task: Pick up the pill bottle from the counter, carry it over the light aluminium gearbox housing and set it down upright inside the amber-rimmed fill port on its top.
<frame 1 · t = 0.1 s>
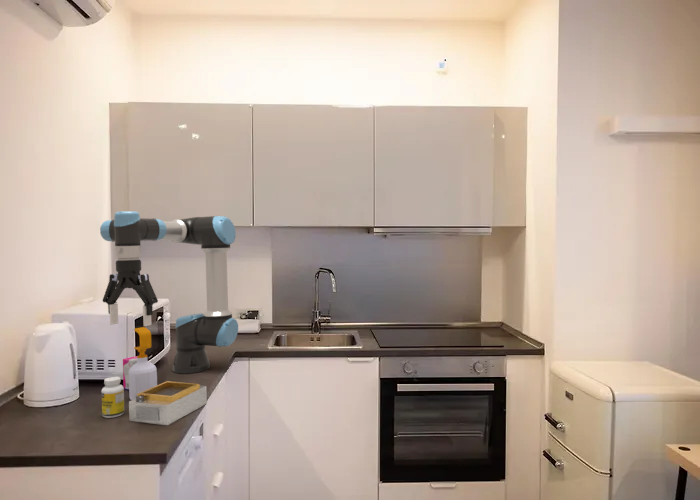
hand: (130, 324, 161), 28 cm above the countertop, fingers open, 13 cm apart
spray bottle: (143, 397, 175), on the countertop
pill bottle: (113, 415, 158), on the countertop
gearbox: (169, 411, 160), on the countertop
supplement box: (134, 388, 186), on the countertop
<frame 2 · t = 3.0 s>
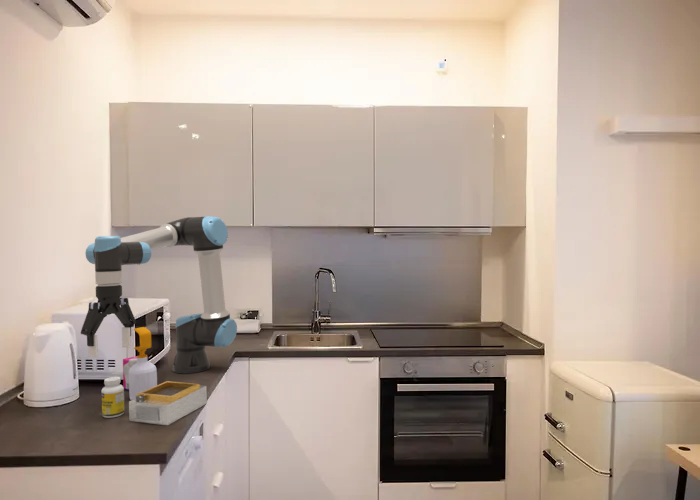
hand: (110, 351, 158), 20 cm above the countertop, fingers open, 13 cm apart
nothing on the countertop moved.
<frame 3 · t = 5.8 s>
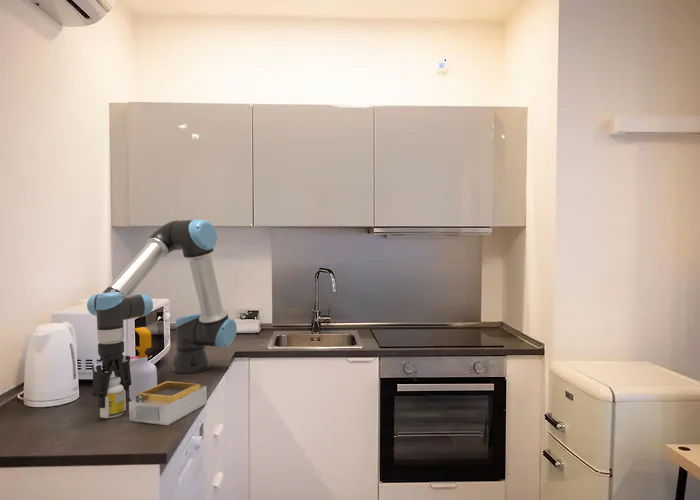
hand: (113, 413, 158), 0 cm above the countertop, fingers closed on pill bottle, 6 cm apart
pill bottle: (113, 415, 158), on the countertop, touching gripper
everything else where it was.
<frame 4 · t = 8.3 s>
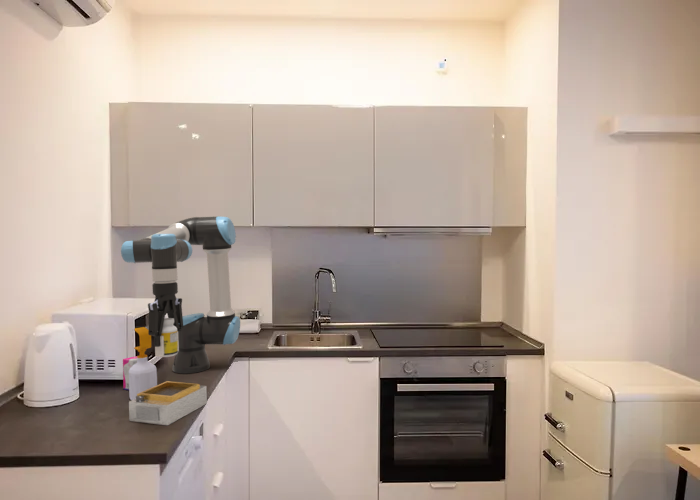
hand: (167, 353, 159), 19 cm above the countertop, fingers closed on pill bottle, 6 cm apart
pill bottle: (167, 355, 159), point 18 cm above the countertop, touching gripper
everything else where it was.
when the fingers open (9 cm above the countertop, at t = 10.8 s): pill bottle drops 2 cm, resting on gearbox.
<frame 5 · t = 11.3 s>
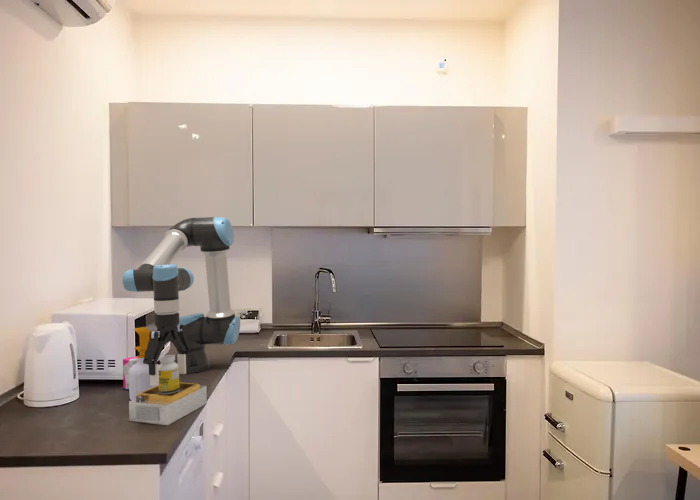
hand: (168, 379, 160), 11 cm above the countertop, fingers open, 13 cm apart
pill bottle: (169, 392, 160), point 6 cm above the countertop, touching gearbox
everything else where it was.
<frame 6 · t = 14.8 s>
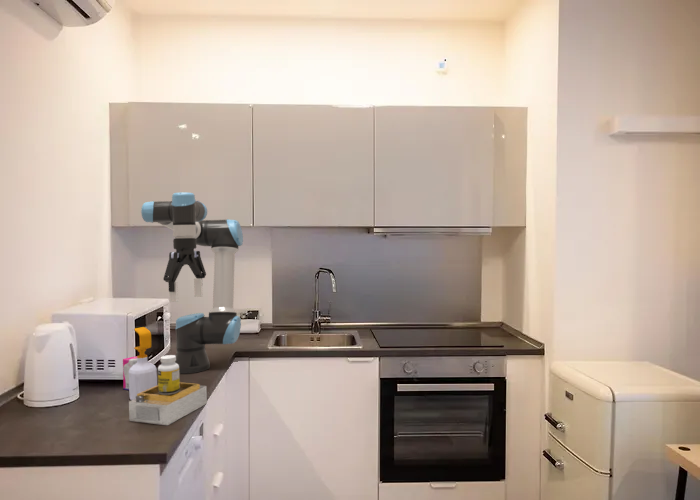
hand: (186, 299, 172), 35 cm above the countertop, fingers open, 13 cm apart
nothing on the countertop moved.
at the end: pill bottle inside the target area on the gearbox (0.0 cm from its centre), point 6.0 cm above the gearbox's base; pill bottle tilted 0°; the gripper is holding nothing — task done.
